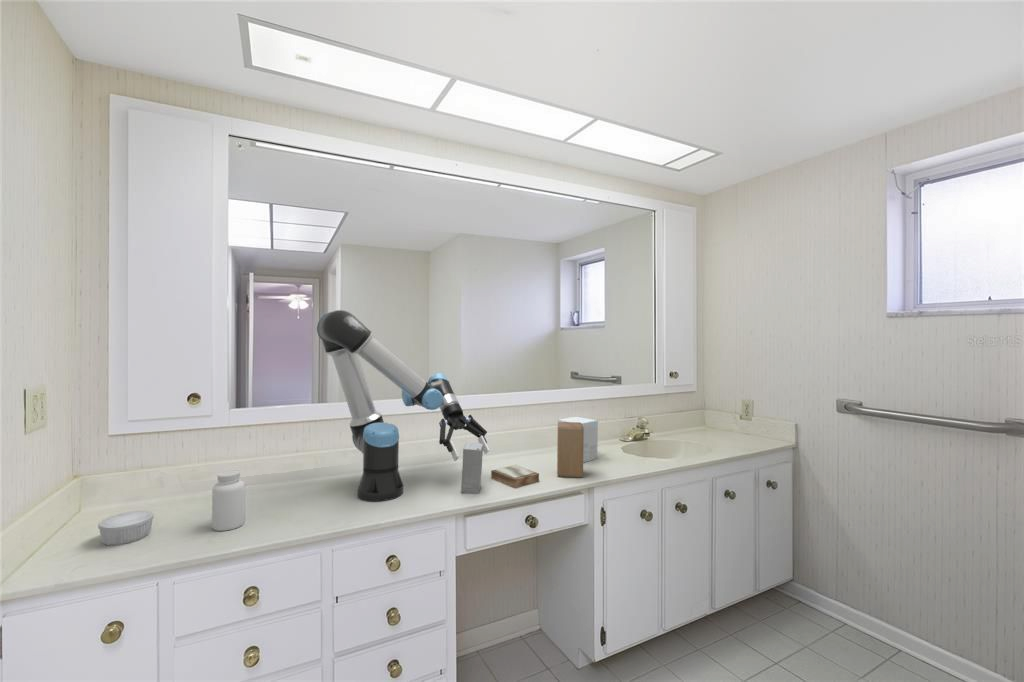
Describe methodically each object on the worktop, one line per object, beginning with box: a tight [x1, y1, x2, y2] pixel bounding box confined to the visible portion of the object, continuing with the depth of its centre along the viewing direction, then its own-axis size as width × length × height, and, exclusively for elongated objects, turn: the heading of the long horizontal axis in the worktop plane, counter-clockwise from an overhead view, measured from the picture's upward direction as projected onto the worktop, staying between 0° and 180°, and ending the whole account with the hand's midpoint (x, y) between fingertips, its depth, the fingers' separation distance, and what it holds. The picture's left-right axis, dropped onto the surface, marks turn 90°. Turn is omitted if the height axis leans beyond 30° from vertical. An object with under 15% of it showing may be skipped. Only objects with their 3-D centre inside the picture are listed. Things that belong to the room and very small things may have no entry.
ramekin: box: [97, 509, 155, 546], centre depth 117 cm, size 11×11×5 cm
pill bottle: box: [211, 470, 246, 532], centre depth 125 cm, size 8×8×15 cm
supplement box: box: [556, 416, 599, 464], centre depth 199 cm, size 13×13×18 cm
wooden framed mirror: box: [490, 464, 540, 489], centre depth 167 cm, size 12×14×3 cm
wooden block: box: [556, 422, 584, 479], centre depth 175 cm, size 10×10×20 cm
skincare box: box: [460, 442, 484, 494], centre depth 156 cm, size 8×7×16 cm
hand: (472, 455), depth 161 cm, fingers open, 13 cm apart
